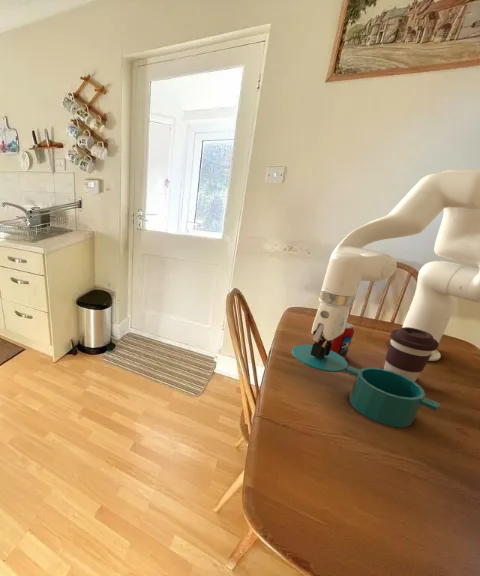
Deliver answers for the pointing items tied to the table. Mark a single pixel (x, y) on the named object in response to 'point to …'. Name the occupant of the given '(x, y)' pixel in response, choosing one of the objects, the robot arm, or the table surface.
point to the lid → (326, 364)
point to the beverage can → (343, 341)
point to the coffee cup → (409, 351)
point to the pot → (387, 396)
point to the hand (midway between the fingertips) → (319, 354)
